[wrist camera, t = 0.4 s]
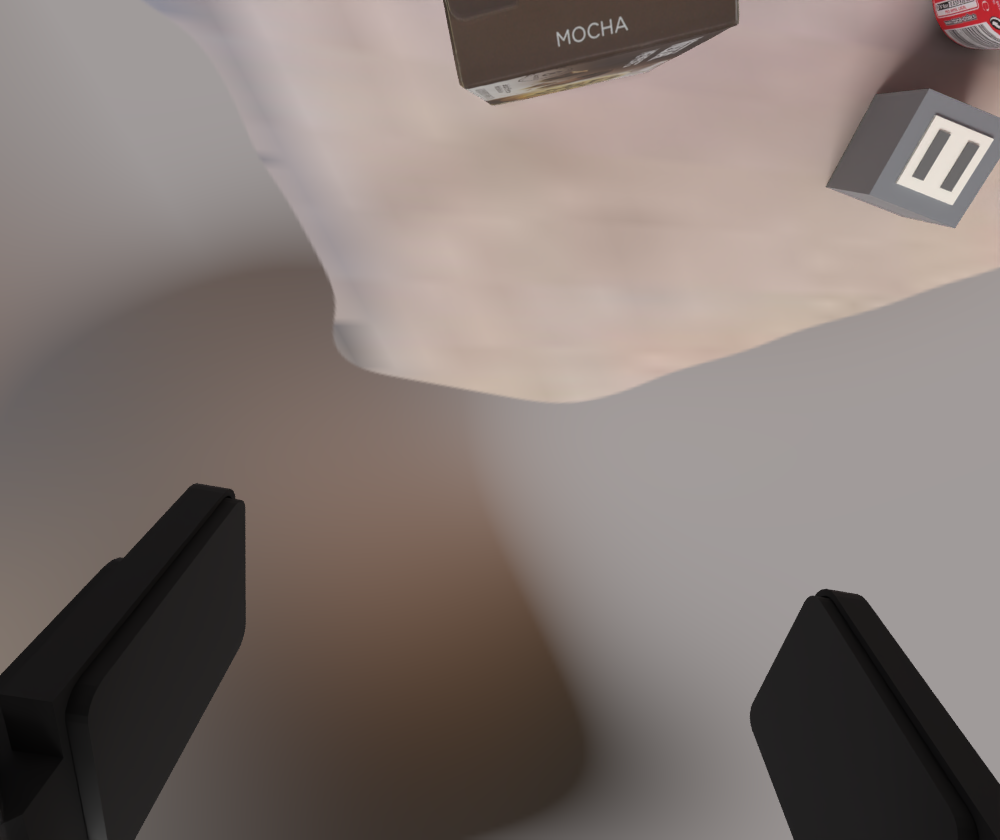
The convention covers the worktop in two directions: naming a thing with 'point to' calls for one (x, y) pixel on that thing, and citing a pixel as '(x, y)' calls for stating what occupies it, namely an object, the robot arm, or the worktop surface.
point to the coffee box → (572, 41)
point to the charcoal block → (919, 156)
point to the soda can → (970, 22)
